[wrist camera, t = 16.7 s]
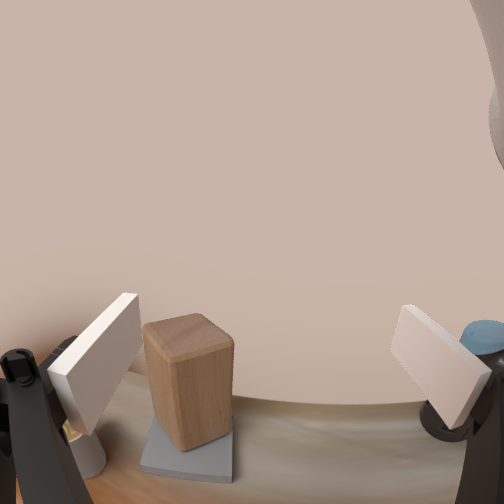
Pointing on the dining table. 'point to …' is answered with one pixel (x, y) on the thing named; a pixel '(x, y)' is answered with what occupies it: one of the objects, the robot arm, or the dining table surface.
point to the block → (190, 378)
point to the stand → (188, 458)
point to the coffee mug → (86, 452)
